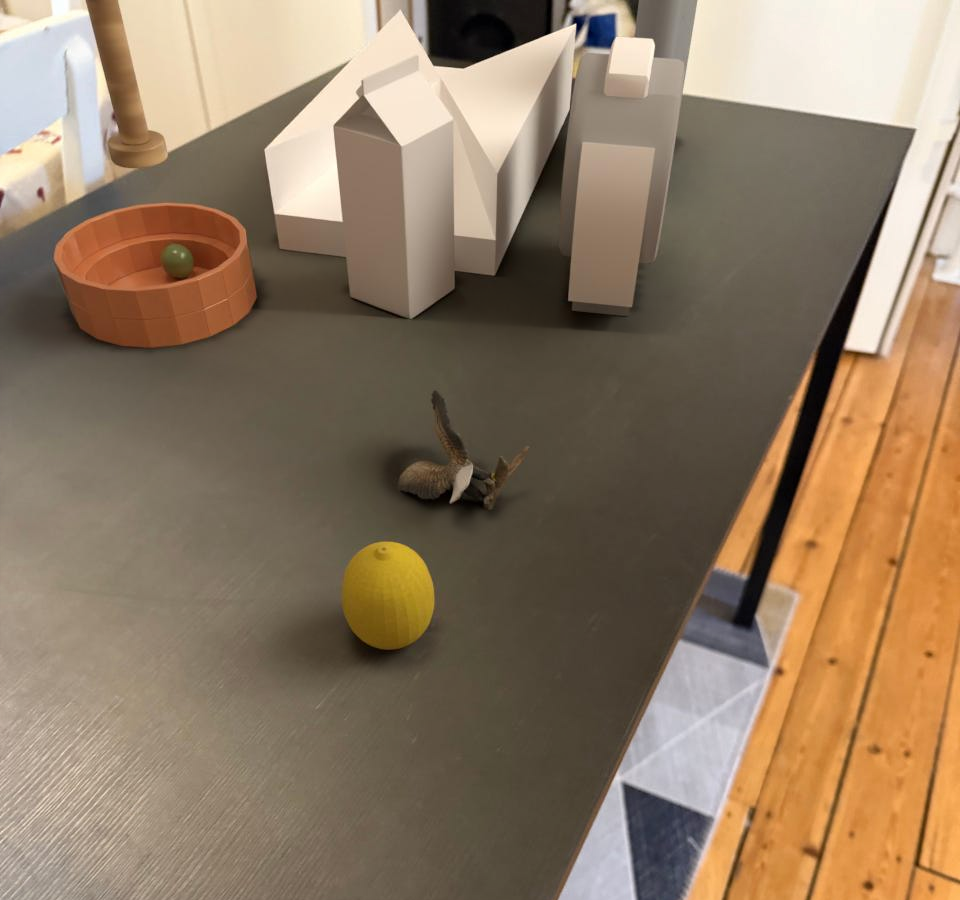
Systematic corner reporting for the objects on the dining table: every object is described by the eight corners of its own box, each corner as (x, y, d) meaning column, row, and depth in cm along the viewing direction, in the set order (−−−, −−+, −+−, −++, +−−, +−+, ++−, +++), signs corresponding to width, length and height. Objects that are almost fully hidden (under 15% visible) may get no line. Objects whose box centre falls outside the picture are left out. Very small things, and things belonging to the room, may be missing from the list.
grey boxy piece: (571, 239, 94) (592, 7, 79) (654, 246, 93) (691, 14, 78) (549, 329, 83) (568, 78, 67) (644, 339, 82) (684, 87, 67)
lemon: (334, 663, 57) (319, 570, 51) (367, 601, 60) (357, 507, 54) (418, 684, 56) (413, 592, 50) (447, 620, 59) (446, 527, 53)
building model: (494, 275, 89) (497, 173, 82) (279, 248, 92) (264, 148, 85) (569, 109, 118) (576, 23, 111) (404, 93, 121) (400, 8, 114)
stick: (102, 166, 66) (24, -120, 54) (123, 144, 68) (53, -133, 56) (157, 170, 65) (90, -116, 53) (175, 148, 68) (116, -130, 56)
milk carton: (455, 290, 87) (453, 63, 73) (410, 322, 83) (398, 89, 69) (396, 268, 90) (382, 46, 75) (349, 298, 86) (326, 70, 72)
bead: (160, 283, 86) (152, 252, 83) (170, 267, 88) (162, 236, 85) (191, 285, 86) (184, 254, 83) (201, 269, 87) (194, 238, 85)
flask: (638, 141, 111) (673, -124, 93) (675, 146, 111) (718, -120, 92) (605, 199, 101) (638, -87, 82) (647, 205, 100) (689, -83, 81)
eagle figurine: (538, 466, 68) (443, 405, 70) (524, 431, 61) (419, 364, 63) (477, 550, 68) (384, 486, 70) (457, 524, 61) (354, 454, 63)
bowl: (47, 349, 80) (22, 283, 75) (114, 260, 90) (96, 198, 86) (230, 361, 79) (216, 295, 74) (276, 270, 89) (266, 207, 85)
